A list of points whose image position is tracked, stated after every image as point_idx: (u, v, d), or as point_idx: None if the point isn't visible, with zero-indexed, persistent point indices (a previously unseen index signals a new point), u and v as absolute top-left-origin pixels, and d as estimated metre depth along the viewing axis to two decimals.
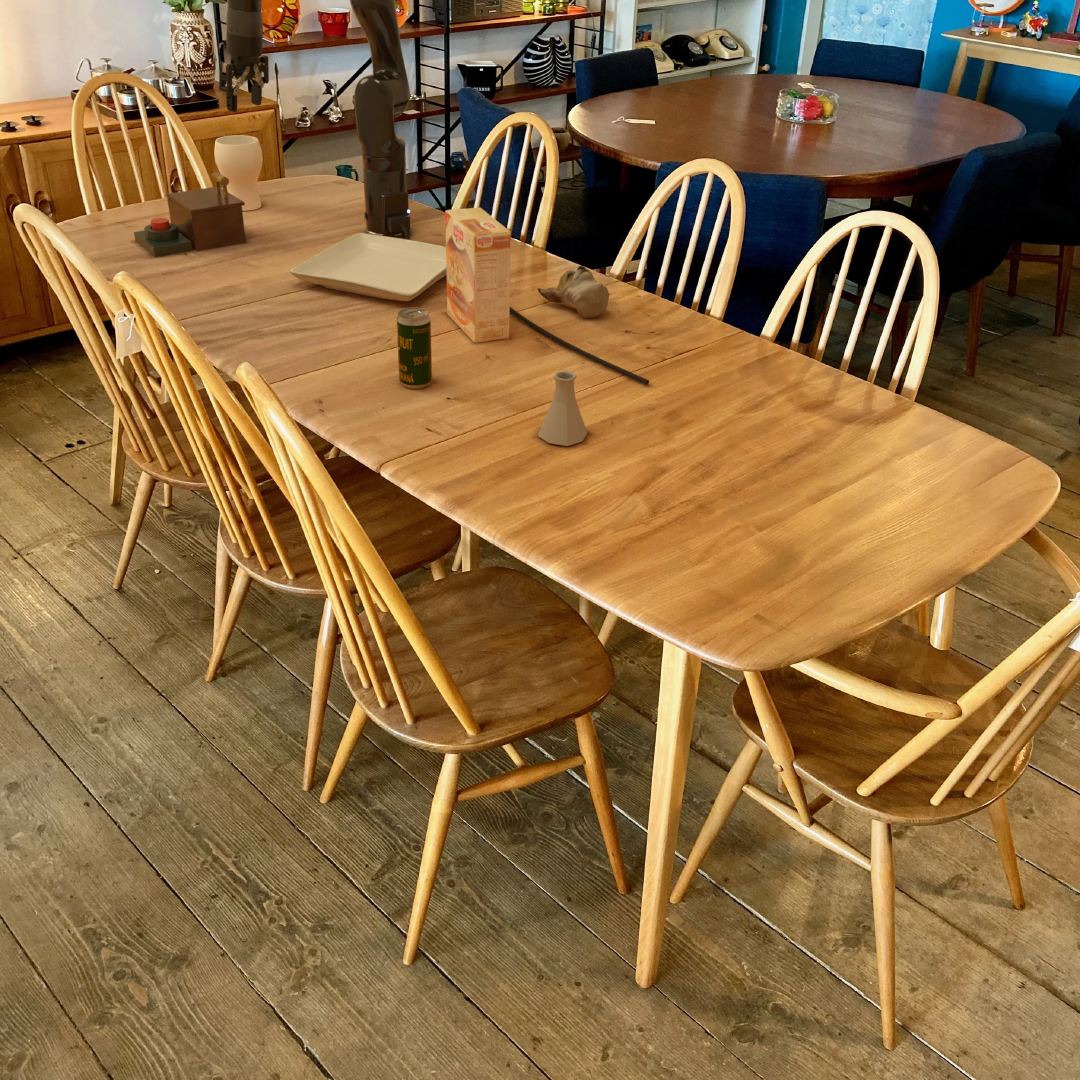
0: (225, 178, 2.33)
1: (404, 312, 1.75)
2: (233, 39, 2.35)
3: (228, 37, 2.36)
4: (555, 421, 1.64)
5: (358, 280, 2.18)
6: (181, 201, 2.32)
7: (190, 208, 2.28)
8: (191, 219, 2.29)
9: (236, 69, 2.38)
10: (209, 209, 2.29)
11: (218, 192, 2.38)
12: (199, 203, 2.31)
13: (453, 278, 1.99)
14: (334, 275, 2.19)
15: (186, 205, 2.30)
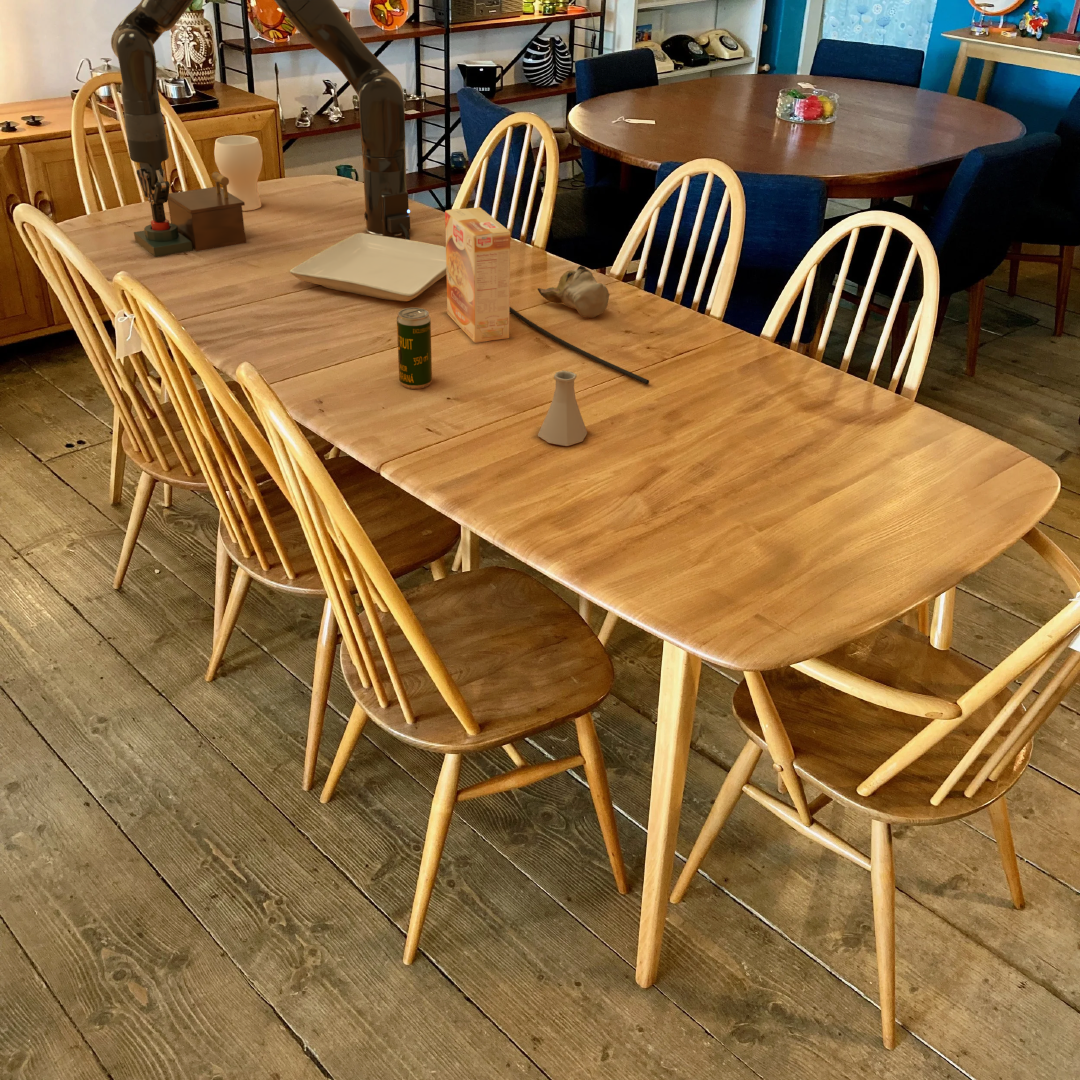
0: (225, 178, 2.33)
1: (404, 312, 1.75)
2: (154, 145, 2.20)
3: (145, 147, 2.20)
4: (555, 421, 1.64)
5: (358, 280, 2.18)
6: (181, 201, 2.32)
7: (190, 208, 2.28)
8: (191, 219, 2.29)
9: None
10: (209, 209, 2.29)
11: (218, 192, 2.38)
12: (199, 203, 2.31)
13: (453, 278, 1.99)
14: (334, 275, 2.19)
15: (186, 205, 2.30)
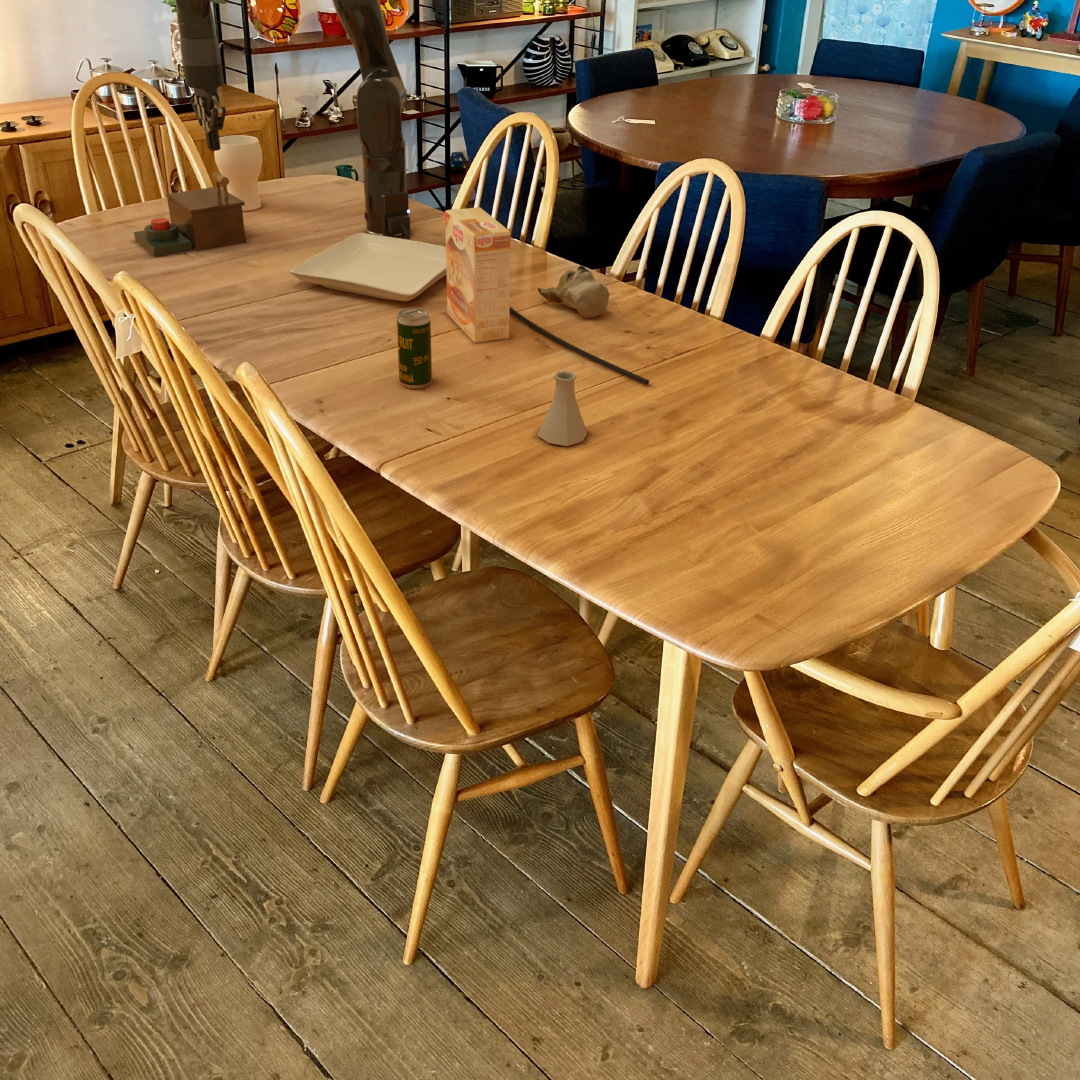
0: (225, 178, 2.33)
1: (404, 312, 1.75)
2: (210, 70, 2.20)
3: (202, 71, 2.19)
4: (555, 421, 1.64)
5: (358, 280, 2.18)
6: (181, 201, 2.32)
7: (190, 208, 2.28)
8: (191, 219, 2.29)
9: None
10: (209, 209, 2.29)
11: (218, 192, 2.38)
12: (199, 203, 2.31)
13: (453, 278, 1.99)
14: (334, 275, 2.19)
15: (186, 205, 2.30)
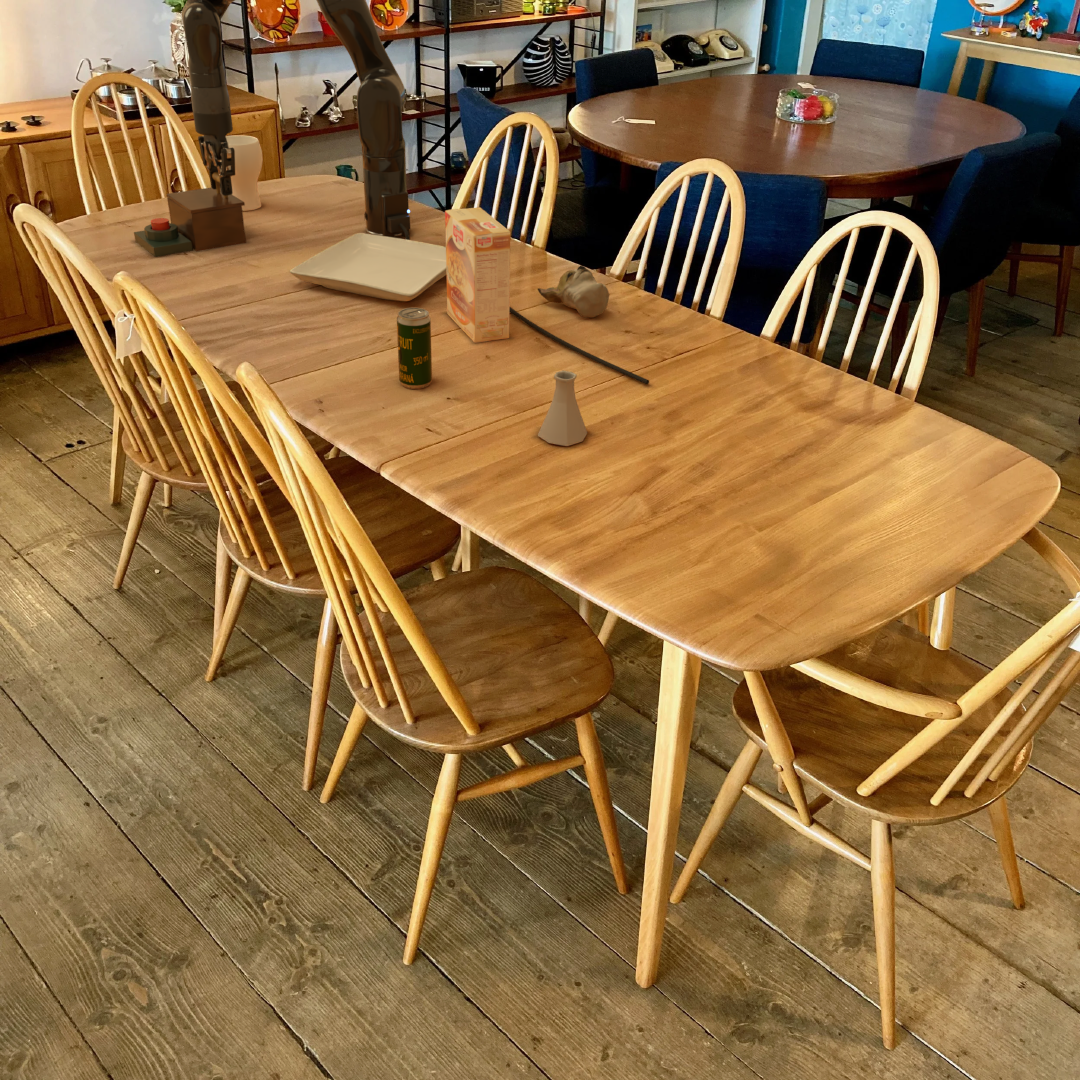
0: None
1: (404, 312, 1.75)
2: (220, 118, 2.25)
3: (211, 119, 2.25)
4: (555, 421, 1.64)
5: (358, 280, 2.18)
6: (181, 201, 2.32)
7: (190, 208, 2.28)
8: (191, 219, 2.29)
9: None
10: (209, 209, 2.29)
11: (218, 192, 2.38)
12: (199, 203, 2.31)
13: (453, 278, 1.99)
14: (334, 275, 2.19)
15: (186, 205, 2.30)
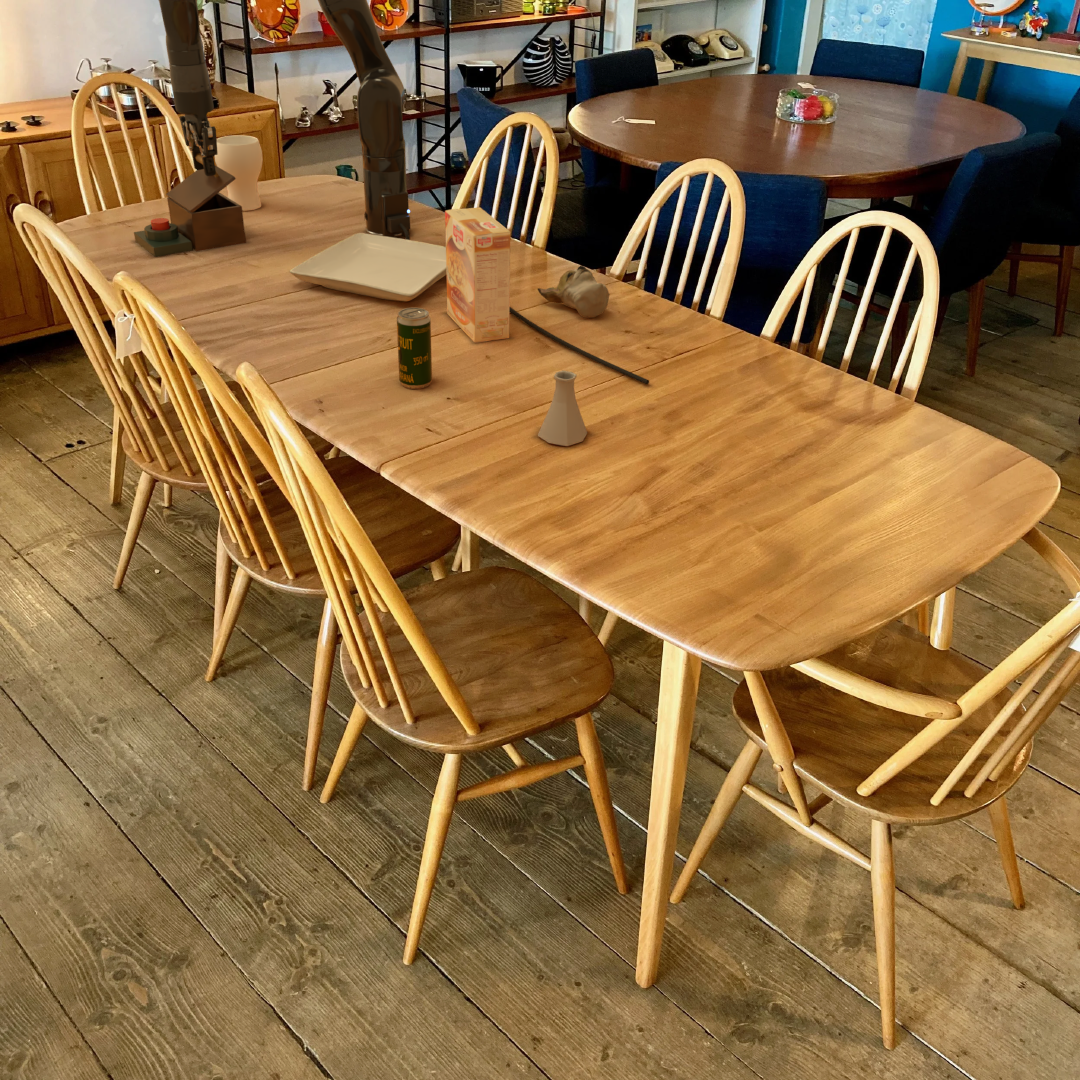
0: None
1: (404, 312, 1.75)
2: (200, 96, 2.21)
3: (191, 98, 2.21)
4: (555, 421, 1.64)
5: (358, 280, 2.18)
6: (180, 200, 2.32)
7: (189, 207, 2.28)
8: (191, 219, 2.29)
9: None
10: (206, 200, 2.28)
11: None
12: (195, 196, 2.30)
13: (453, 278, 1.99)
14: (334, 275, 2.19)
15: (185, 204, 2.30)
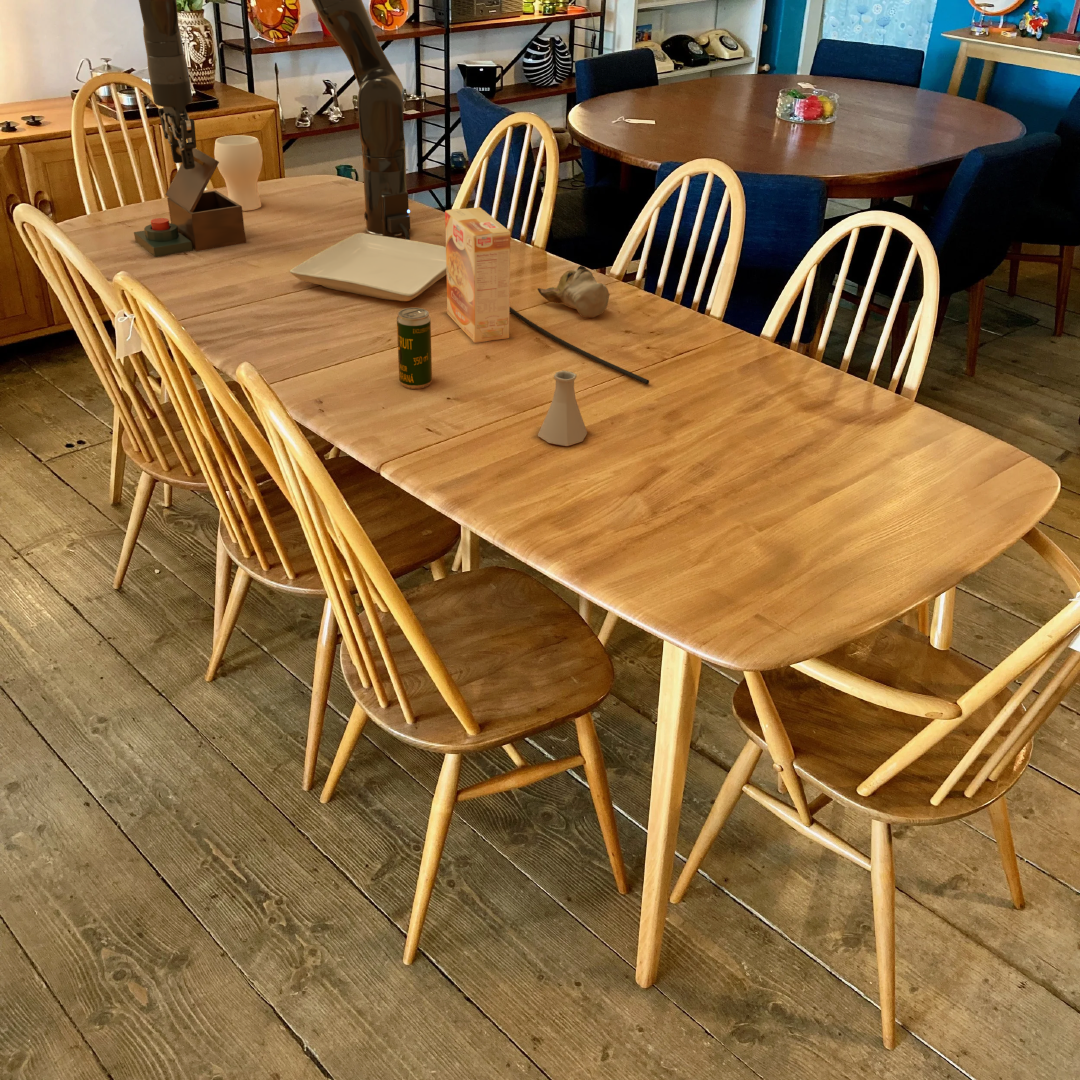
0: None
1: (404, 312, 1.75)
2: (178, 88, 2.18)
3: (169, 89, 2.17)
4: (555, 421, 1.64)
5: (358, 280, 2.18)
6: (178, 199, 2.32)
7: (188, 207, 2.28)
8: (191, 219, 2.29)
9: None
10: (200, 195, 2.27)
11: None
12: (190, 192, 2.29)
13: (453, 278, 1.99)
14: (334, 275, 2.19)
15: (184, 204, 2.30)
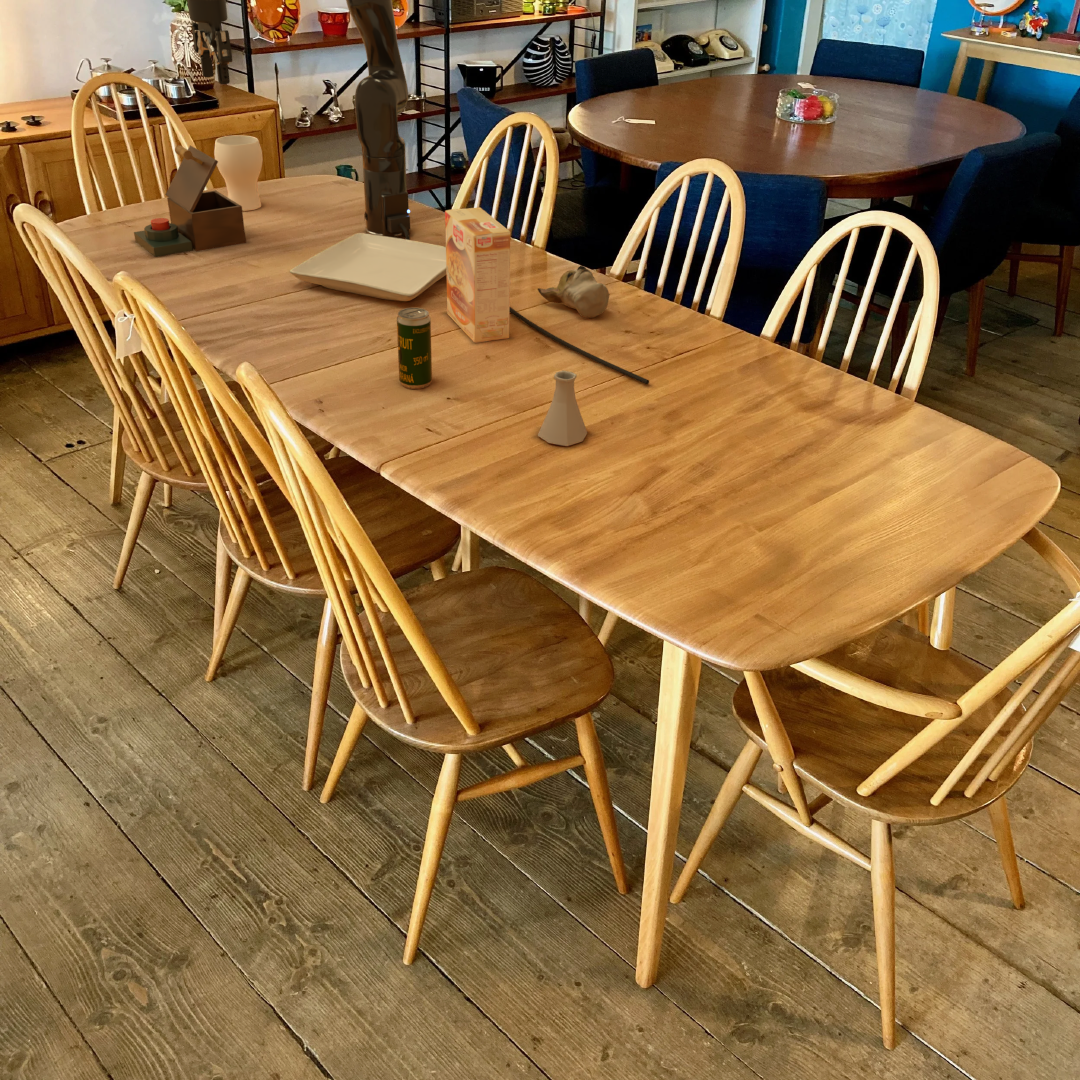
0: (185, 152, 2.26)
1: (404, 312, 1.75)
2: (214, 4, 2.22)
3: (206, 5, 2.22)
4: (555, 421, 1.64)
5: (358, 280, 2.18)
6: (178, 199, 2.32)
7: (188, 207, 2.28)
8: (191, 219, 2.29)
9: None
10: (200, 194, 2.27)
11: None
12: (190, 192, 2.29)
13: (453, 278, 1.99)
14: (334, 275, 2.19)
15: (184, 204, 2.30)
